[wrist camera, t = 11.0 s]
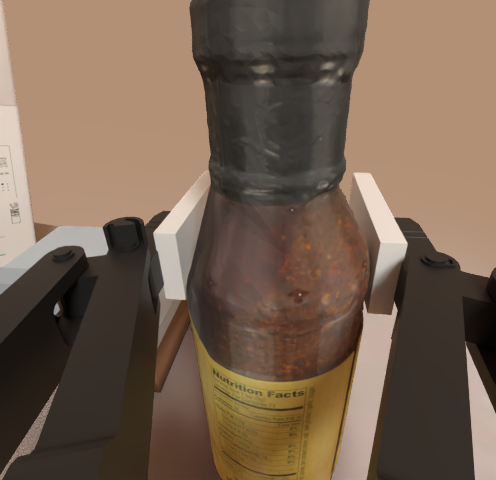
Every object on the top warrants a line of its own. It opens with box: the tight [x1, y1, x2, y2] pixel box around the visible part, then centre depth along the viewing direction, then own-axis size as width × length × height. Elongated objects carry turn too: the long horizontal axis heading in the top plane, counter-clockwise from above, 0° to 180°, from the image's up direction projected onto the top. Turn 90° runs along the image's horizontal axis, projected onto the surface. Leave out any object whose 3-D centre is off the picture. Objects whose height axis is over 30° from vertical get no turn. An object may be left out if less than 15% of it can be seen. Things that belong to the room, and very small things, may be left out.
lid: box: [0, 226, 181, 349], centre depth 25 cm, size 15×13×4 cm
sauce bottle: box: [186, 0, 370, 480], centre depth 13 cm, size 7×6×20 cm
